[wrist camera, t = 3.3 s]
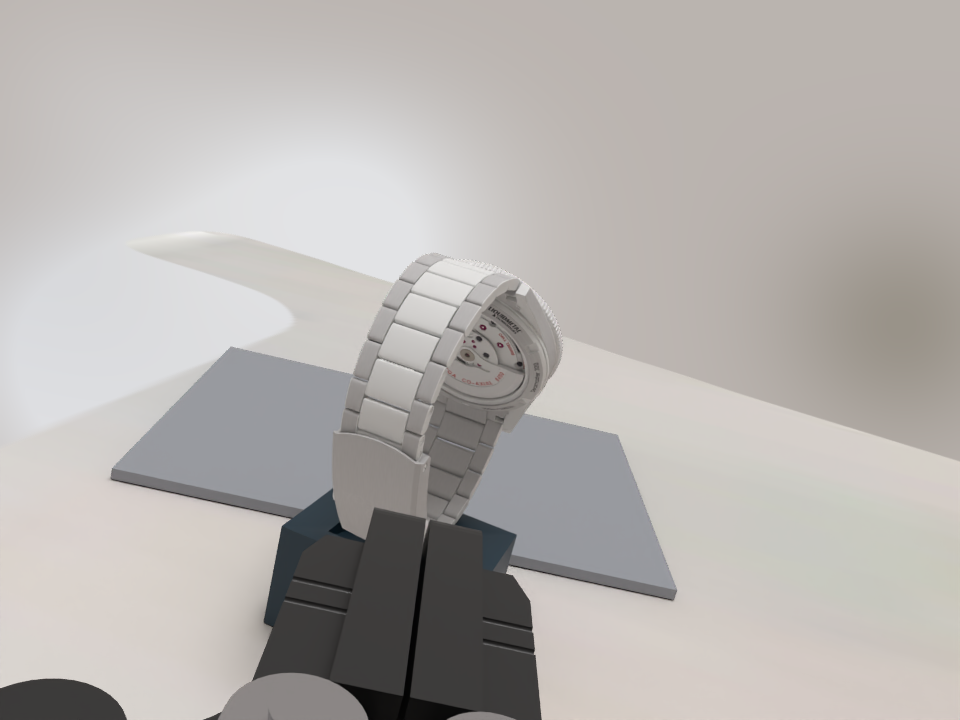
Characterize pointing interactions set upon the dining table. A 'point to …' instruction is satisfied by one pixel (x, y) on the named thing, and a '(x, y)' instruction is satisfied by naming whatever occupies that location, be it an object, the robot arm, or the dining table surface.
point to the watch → (430, 406)
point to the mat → (505, 482)
